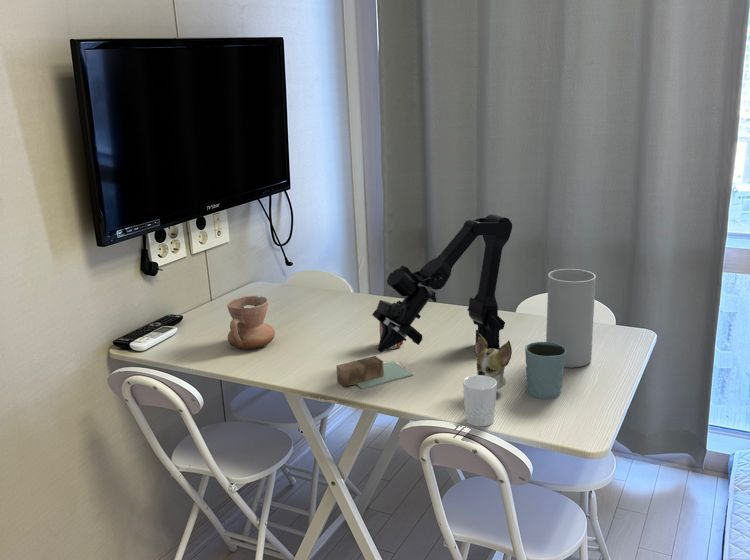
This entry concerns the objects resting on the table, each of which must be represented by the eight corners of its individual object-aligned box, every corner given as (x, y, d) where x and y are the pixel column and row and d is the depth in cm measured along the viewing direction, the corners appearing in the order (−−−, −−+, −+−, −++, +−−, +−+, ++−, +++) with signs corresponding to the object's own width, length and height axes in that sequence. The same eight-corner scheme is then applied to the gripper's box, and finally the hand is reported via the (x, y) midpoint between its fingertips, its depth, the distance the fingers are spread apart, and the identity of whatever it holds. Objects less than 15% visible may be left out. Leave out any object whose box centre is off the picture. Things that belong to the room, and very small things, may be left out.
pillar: (375, 355, 204) (336, 365, 199) (383, 361, 201) (343, 371, 195) (375, 370, 206) (337, 380, 200) (383, 376, 202) (344, 386, 197)
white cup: (484, 431, 171) (484, 392, 169) (456, 421, 177) (456, 383, 174) (502, 418, 177) (503, 380, 174) (475, 409, 182) (475, 372, 179)
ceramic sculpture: (463, 393, 191) (462, 339, 187) (481, 381, 197) (482, 329, 193) (498, 404, 184) (498, 348, 180) (516, 392, 190) (517, 338, 186)
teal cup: (516, 390, 191) (517, 347, 188) (543, 380, 197) (544, 338, 193) (545, 404, 183) (547, 359, 180) (573, 393, 189) (575, 349, 185)
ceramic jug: (248, 332, 240) (244, 290, 236) (286, 337, 234) (282, 294, 230) (214, 353, 225) (208, 309, 220) (254, 359, 218) (248, 314, 214)
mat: (393, 362, 212) (393, 360, 212) (413, 375, 203) (413, 374, 203) (343, 375, 205) (343, 373, 205) (362, 389, 196) (362, 387, 195)
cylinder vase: (568, 372, 201) (572, 284, 194) (536, 358, 211) (538, 274, 204) (600, 361, 207) (605, 276, 200) (567, 348, 217) (571, 266, 210)
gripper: (376, 281, 207) (343, 326, 206) (411, 298, 192) (376, 346, 190) (401, 302, 213) (369, 346, 211) (437, 320, 197) (403, 368, 196)
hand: (378, 351), depth 202 cm, fingers closed
